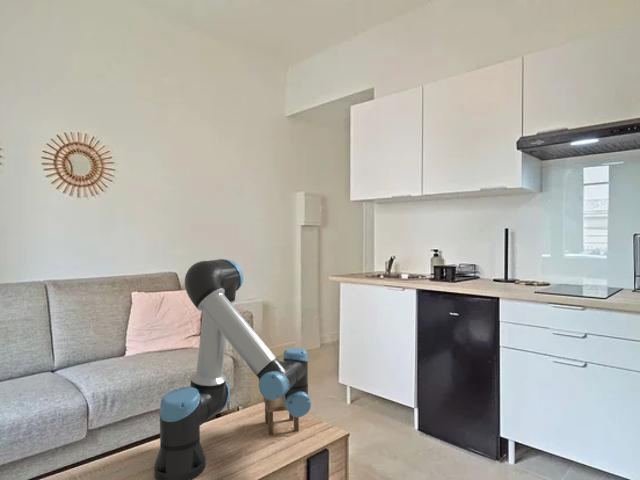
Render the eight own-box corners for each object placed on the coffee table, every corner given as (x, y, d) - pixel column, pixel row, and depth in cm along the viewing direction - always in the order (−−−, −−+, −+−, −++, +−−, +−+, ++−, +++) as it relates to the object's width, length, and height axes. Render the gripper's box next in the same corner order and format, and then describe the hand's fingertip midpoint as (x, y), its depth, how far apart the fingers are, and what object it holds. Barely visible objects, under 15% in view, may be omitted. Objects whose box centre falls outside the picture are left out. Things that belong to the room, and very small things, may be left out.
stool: (267, 435, 147) (267, 408, 147) (263, 421, 159) (263, 396, 159) (300, 431, 150) (300, 404, 150) (293, 417, 162) (293, 392, 162)
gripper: (256, 403, 134) (249, 381, 155) (323, 396, 140) (308, 375, 161) (255, 381, 134) (249, 361, 155) (323, 374, 140) (308, 356, 161)
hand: (279, 368), depth 158 cm, fingers closed on flower pot, 11 cm apart
